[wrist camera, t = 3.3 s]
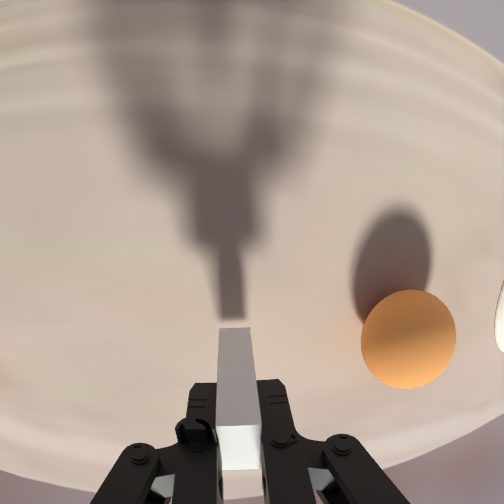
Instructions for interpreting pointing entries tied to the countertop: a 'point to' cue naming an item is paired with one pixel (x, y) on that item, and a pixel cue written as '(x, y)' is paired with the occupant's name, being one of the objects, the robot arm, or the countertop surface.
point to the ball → (408, 339)
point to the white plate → (500, 321)
